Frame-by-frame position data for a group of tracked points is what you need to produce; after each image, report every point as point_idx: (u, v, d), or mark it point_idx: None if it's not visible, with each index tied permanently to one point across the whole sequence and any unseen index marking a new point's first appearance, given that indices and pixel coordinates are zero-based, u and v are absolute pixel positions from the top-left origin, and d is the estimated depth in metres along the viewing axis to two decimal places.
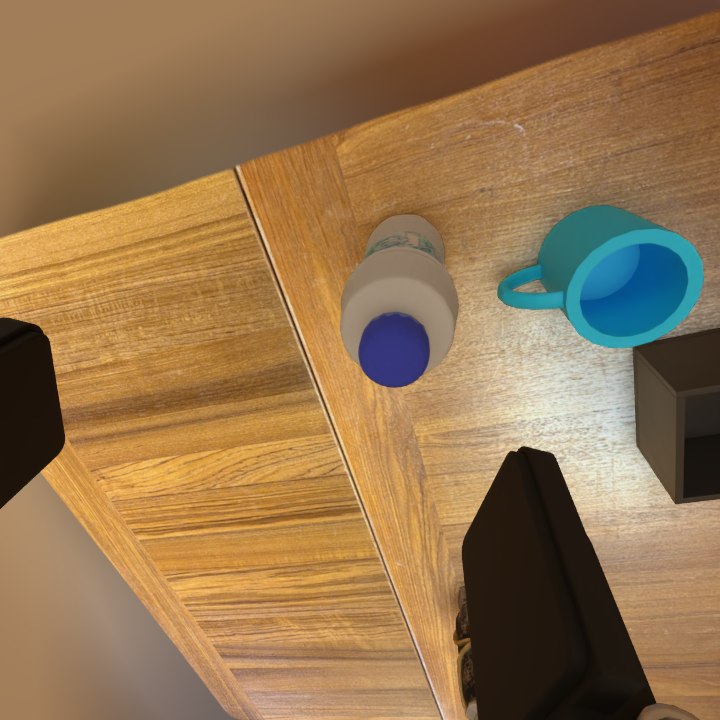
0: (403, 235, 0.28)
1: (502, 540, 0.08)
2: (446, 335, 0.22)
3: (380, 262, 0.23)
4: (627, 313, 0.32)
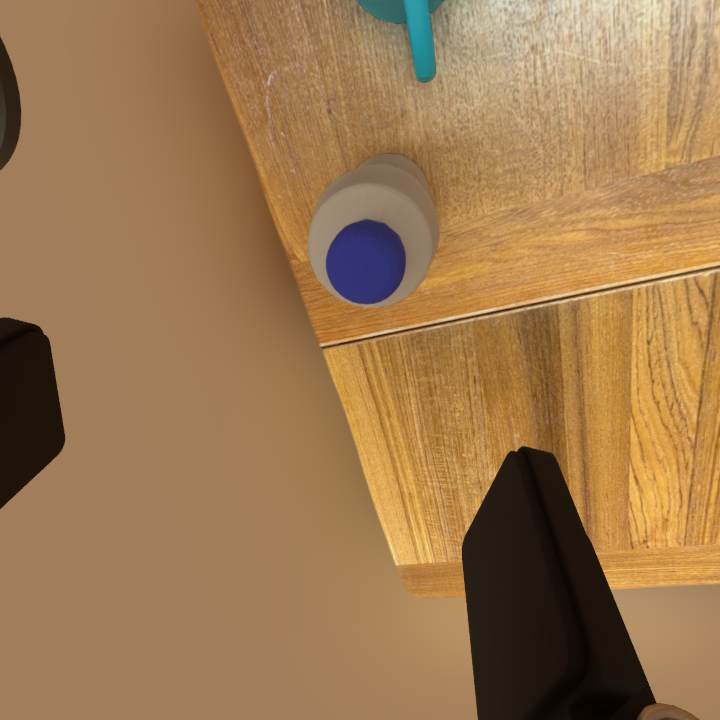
0: None
1: (502, 540, 0.08)
2: (368, 194, 0.19)
3: None
4: None
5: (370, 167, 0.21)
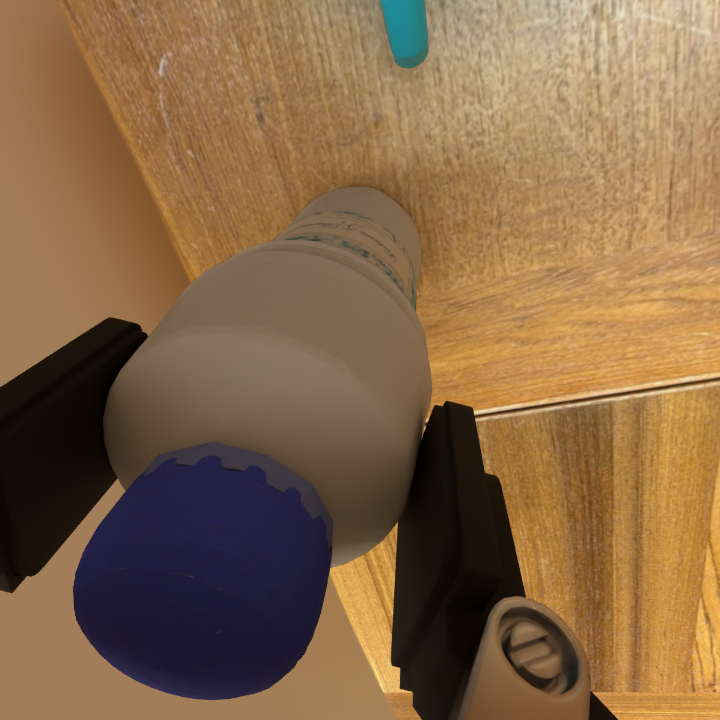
0: None
1: (421, 483, 0.08)
2: (226, 363, 0.07)
3: None
4: None
5: (267, 256, 0.09)
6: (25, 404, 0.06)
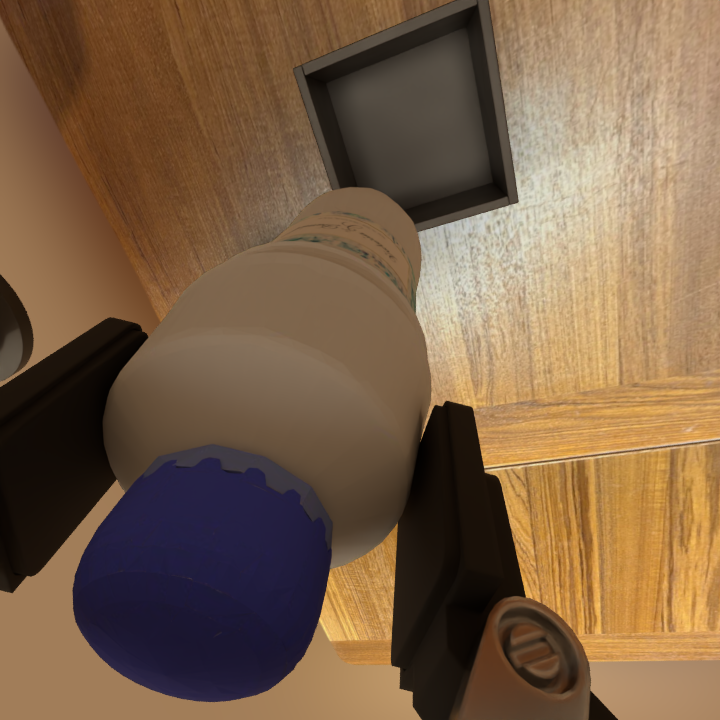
0: None
1: (421, 483, 0.08)
2: (225, 364, 0.07)
3: None
4: None
5: (267, 258, 0.09)
6: (25, 404, 0.06)
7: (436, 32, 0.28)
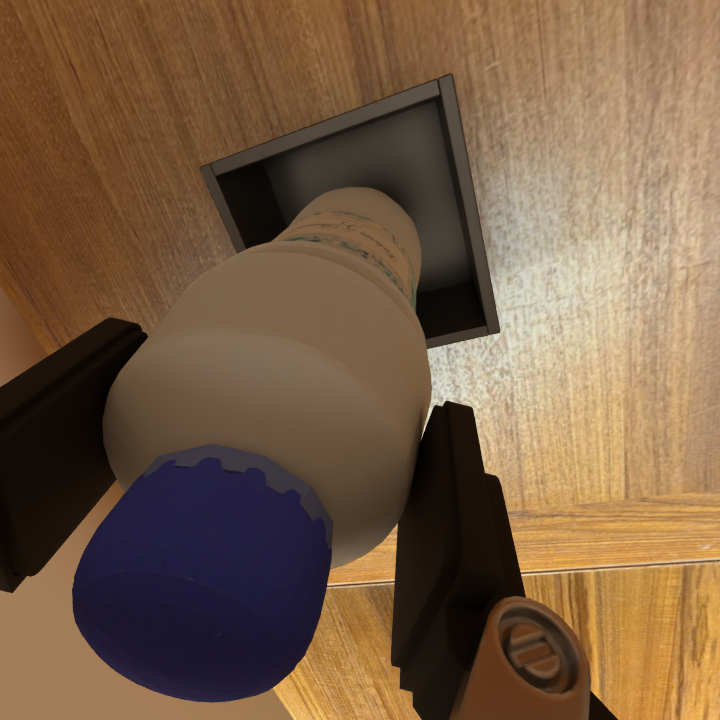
0: None
1: (421, 483, 0.08)
2: (225, 363, 0.07)
3: None
4: None
5: (267, 257, 0.09)
6: (25, 404, 0.06)
7: (393, 114, 0.22)
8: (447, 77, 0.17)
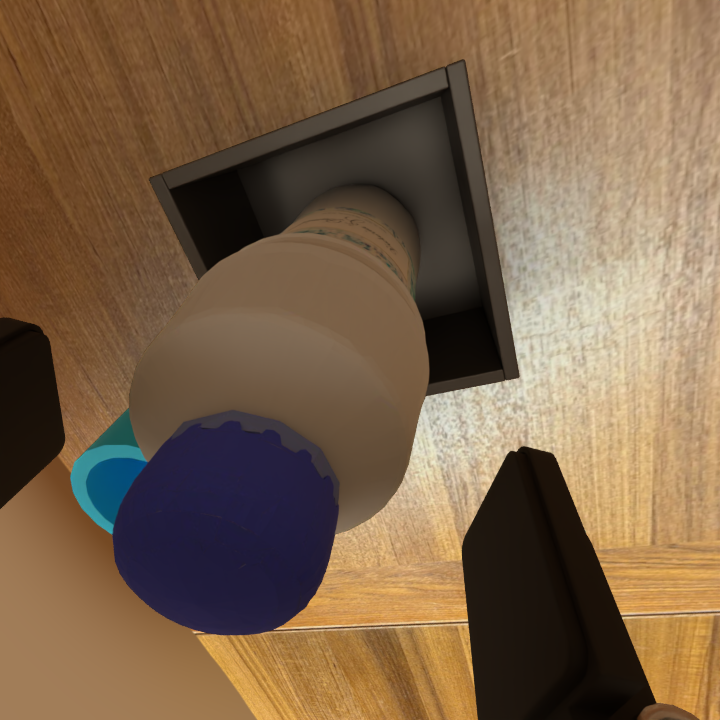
0: None
1: (502, 540, 0.08)
2: (244, 340, 0.07)
3: None
4: None
5: (277, 247, 0.10)
6: None
7: (390, 112, 0.18)
8: (458, 64, 0.13)
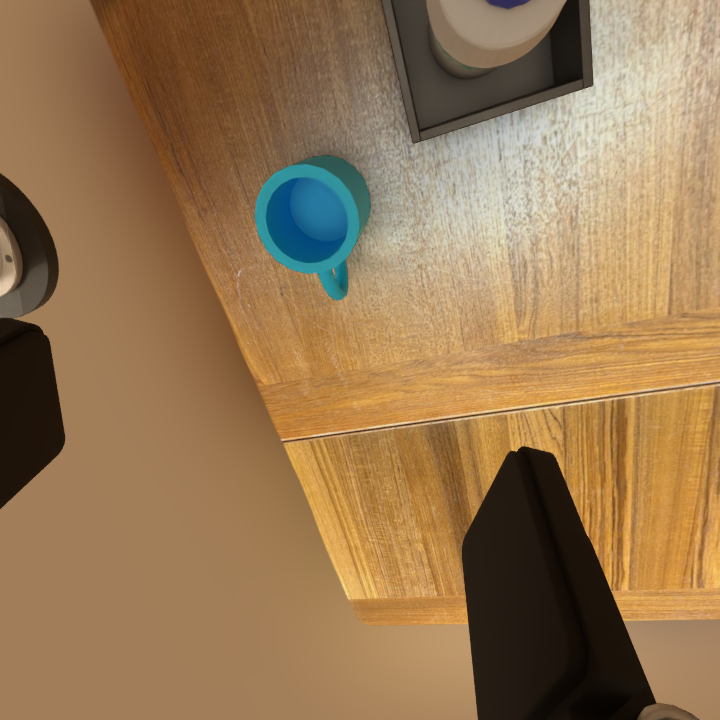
0: None
1: (502, 540, 0.08)
2: None
3: (431, 7, 0.21)
4: None
5: None
6: None
7: None
8: None
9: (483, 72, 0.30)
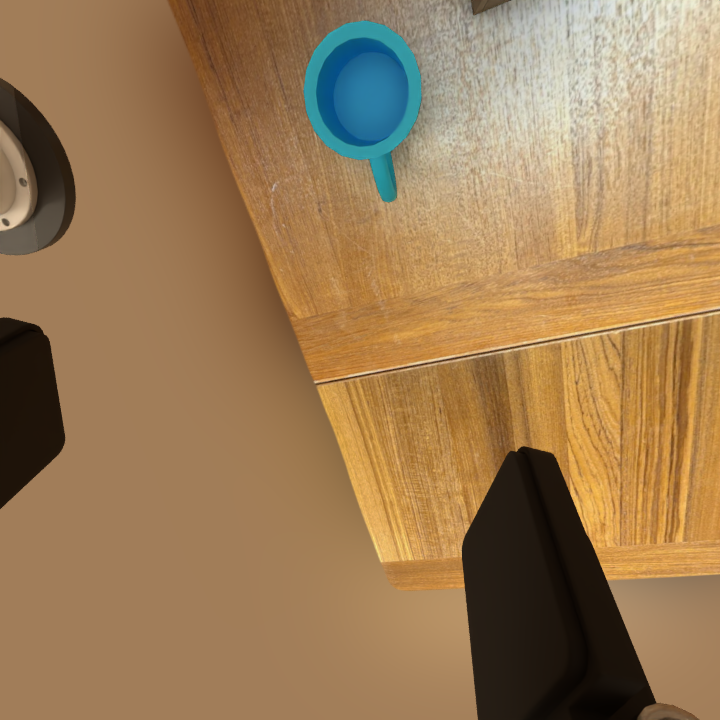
0: None
1: (502, 540, 0.08)
2: None
3: None
4: (404, 69, 0.32)
5: None
6: None
7: None
8: None
9: None
